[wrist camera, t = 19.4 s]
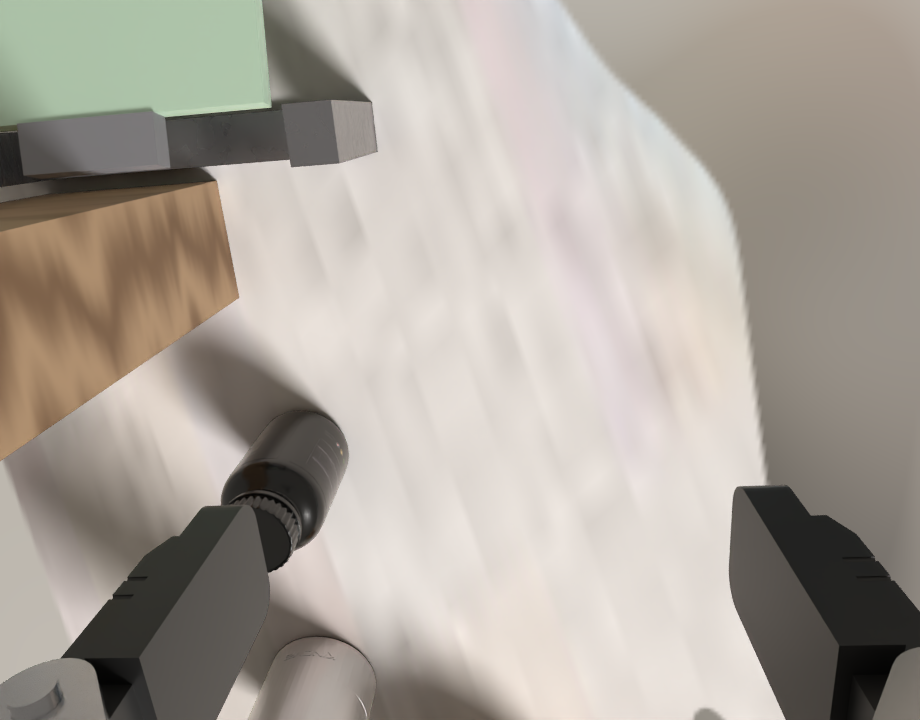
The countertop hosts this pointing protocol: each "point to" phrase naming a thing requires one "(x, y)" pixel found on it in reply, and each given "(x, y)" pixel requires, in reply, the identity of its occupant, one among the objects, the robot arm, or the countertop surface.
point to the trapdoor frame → (248, 138)
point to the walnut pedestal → (100, 292)
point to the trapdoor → (122, 77)
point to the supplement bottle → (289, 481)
